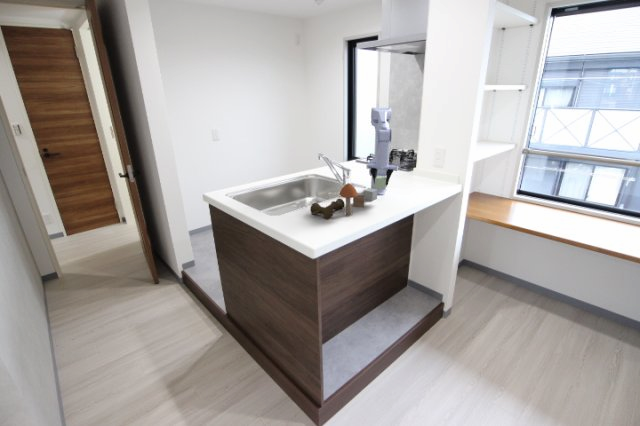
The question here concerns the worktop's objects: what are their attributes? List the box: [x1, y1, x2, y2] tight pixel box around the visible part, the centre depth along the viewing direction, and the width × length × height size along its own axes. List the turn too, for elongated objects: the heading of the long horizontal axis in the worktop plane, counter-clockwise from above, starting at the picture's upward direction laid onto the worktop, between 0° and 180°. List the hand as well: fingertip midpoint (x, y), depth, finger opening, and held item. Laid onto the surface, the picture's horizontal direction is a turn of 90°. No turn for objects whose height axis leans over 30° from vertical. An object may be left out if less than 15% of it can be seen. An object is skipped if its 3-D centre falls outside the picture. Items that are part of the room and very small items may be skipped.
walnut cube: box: [352, 193, 365, 208], centre depth 154 cm, size 5×5×5 cm
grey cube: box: [363, 187, 378, 202], centre depth 162 cm, size 5×5×5 cm
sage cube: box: [375, 176, 388, 190], centre depth 153 cm, size 5×5×5 cm
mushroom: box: [339, 183, 359, 217], centre depth 140 cm, size 8×8×15 cm
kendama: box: [309, 198, 346, 220], centre depth 144 cm, size 6×10×20 cm
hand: (381, 184), depth 153 cm, fingers closed on sage cube, 5 cm apart
